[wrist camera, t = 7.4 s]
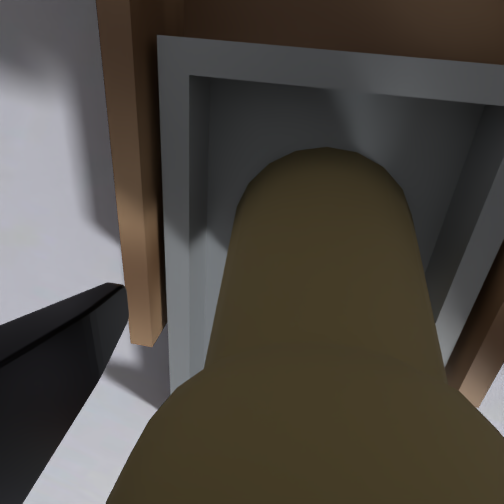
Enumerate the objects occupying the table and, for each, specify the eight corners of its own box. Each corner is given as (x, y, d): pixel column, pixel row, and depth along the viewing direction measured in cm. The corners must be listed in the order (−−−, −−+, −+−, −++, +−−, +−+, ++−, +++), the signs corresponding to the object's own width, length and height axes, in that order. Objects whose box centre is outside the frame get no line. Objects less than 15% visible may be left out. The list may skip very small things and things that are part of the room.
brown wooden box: (441, 328, 15) (478, 407, 12) (171, 283, 16) (130, 343, 13) (808, -541, 6) (1449, -1335, 3) (148, -490, 7) (-5, -984, 4)
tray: (386, 477, 19) (401, 570, 16) (171, 432, 20) (139, 508, 17) (563, 74, 10) (695, 78, 6) (155, 38, 11) (81, 26, 8)
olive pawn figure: (353, 104, 10) (728, 571, 1) (444, 261, 12) (913, 1003, 3) (199, 211, 13) (-158, 652, 3) (294, 330, 15) (244, 849, 5)
